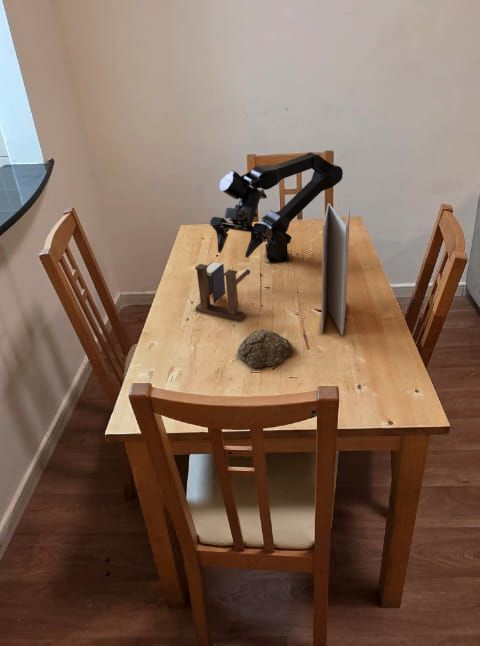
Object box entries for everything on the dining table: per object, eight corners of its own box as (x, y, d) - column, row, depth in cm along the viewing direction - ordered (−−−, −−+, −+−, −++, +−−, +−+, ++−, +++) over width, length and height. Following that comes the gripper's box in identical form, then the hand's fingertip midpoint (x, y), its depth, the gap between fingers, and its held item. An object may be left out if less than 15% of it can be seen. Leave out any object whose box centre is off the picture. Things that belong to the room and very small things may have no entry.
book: (214, 290, 163) (212, 261, 158) (225, 293, 161) (223, 264, 156) (203, 300, 158) (200, 270, 153) (214, 303, 157) (212, 273, 152)
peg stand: (216, 292, 165) (212, 250, 158) (258, 301, 159) (255, 258, 152) (196, 310, 157) (190, 267, 150) (239, 321, 151) (235, 276, 144)
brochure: (342, 335, 142) (347, 226, 127) (321, 333, 143) (322, 225, 128) (345, 306, 154) (350, 203, 139) (325, 305, 155) (327, 203, 140)
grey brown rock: (259, 333, 145) (258, 317, 143) (298, 349, 138) (298, 332, 136) (227, 357, 137) (225, 340, 134) (267, 375, 130) (266, 358, 127)
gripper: (209, 191, 163) (193, 240, 161) (266, 198, 155) (250, 250, 153) (224, 206, 173) (209, 253, 171) (279, 214, 165) (264, 263, 163)
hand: (232, 254), depth 164 cm, fingers open, 9 cm apart
